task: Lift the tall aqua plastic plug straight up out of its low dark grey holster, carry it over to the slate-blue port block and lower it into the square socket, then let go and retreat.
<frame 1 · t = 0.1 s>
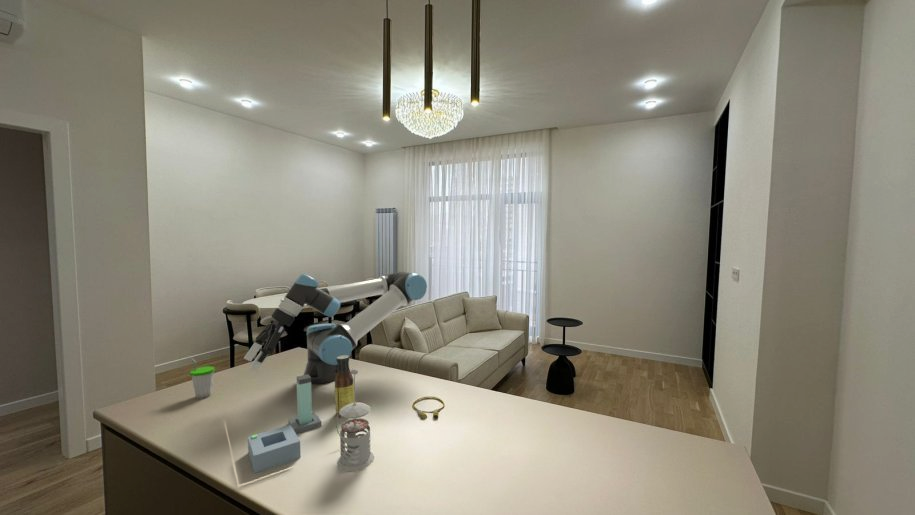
hand: (249, 364, 128), 15 cm above the table, tool tilted 35°, fingers open, 13 cm apart
french press: (353, 459, 98), on the table
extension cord: (427, 409, 127), on the table
port: (274, 456, 99), on the table
holster: (304, 426, 115), on the table
plug: (304, 424, 115), resting on holster
sauce bottle: (345, 415, 123), on the table
cup: (203, 396, 138), on the table
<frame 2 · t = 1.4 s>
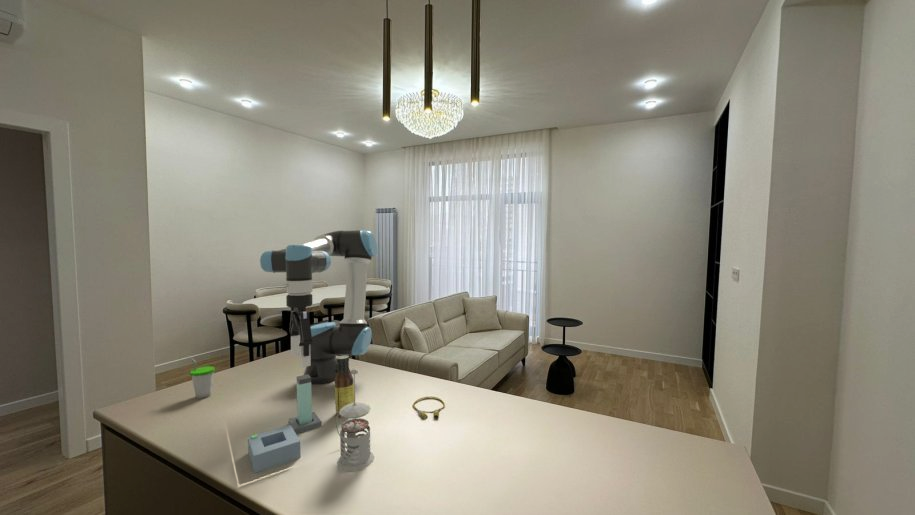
hand: (300, 360, 114), 21 cm above the table, tool pointing down, fingers open, 13 cm apart
nothing on the table moved.
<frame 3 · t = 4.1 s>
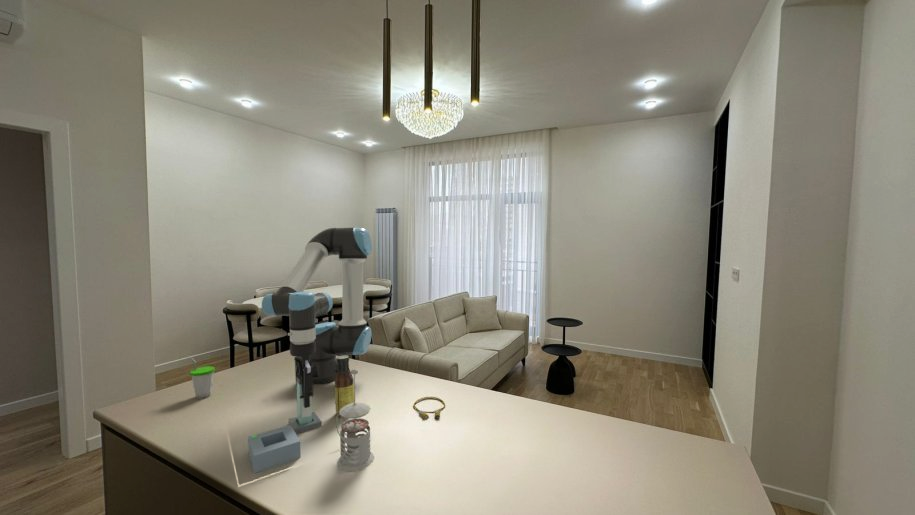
hand: (304, 413, 115), 4 cm above the table, tool pointing down, fingers closed on plug, 3 cm apart
plug: (304, 424, 115), resting on holster, touching gripper
everything else where it was.
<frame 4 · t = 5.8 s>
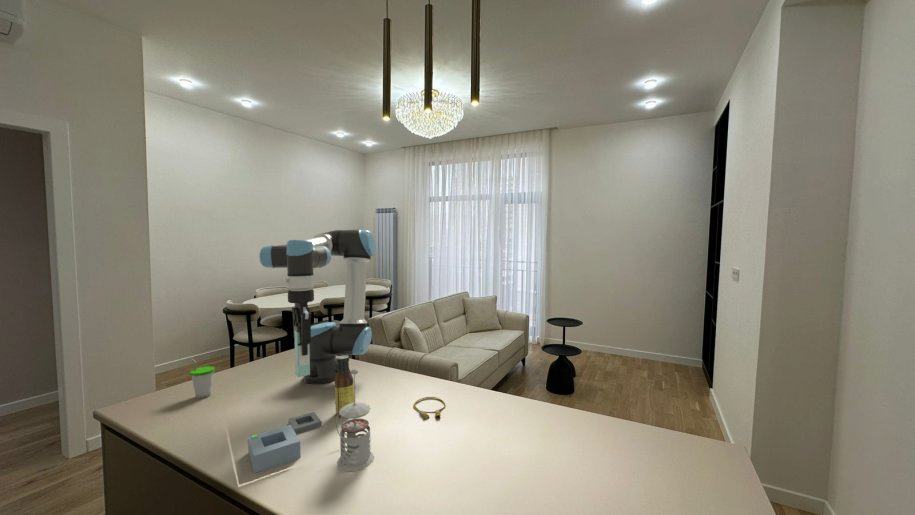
hand: (302, 363, 113), 21 cm above the table, tool pointing down, fingers closed on plug, 3 cm apart
plug: (302, 374, 114), point 17 cm above the table, touching gripper
everything else where it was.
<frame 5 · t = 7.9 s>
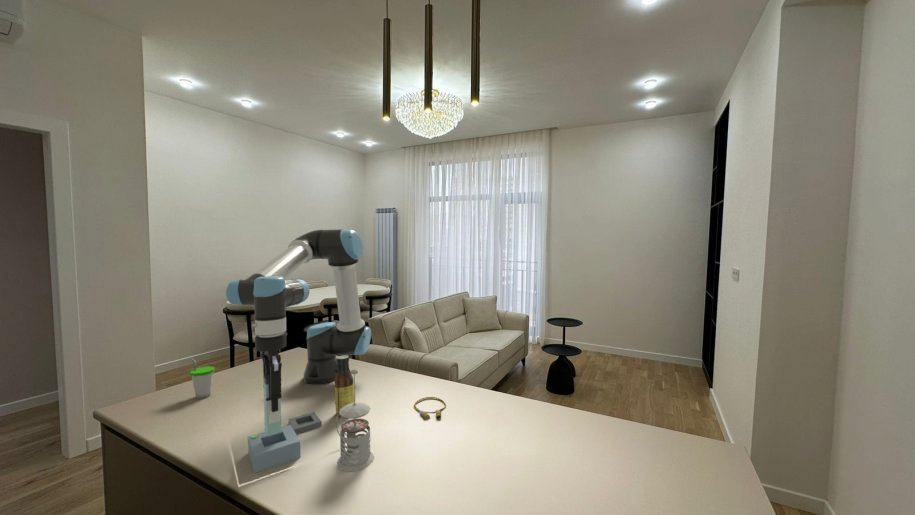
hand: (272, 418, 98), 11 cm above the table, tool pointing down, fingers closed on plug, 3 cm apart
plug: (273, 431, 98), point 7 cm above the table, touching gripper
everything else where it was.
when the fingers open (6 cm above the table, at t = 9.5 s): plug drops 2 cm, resting on port.
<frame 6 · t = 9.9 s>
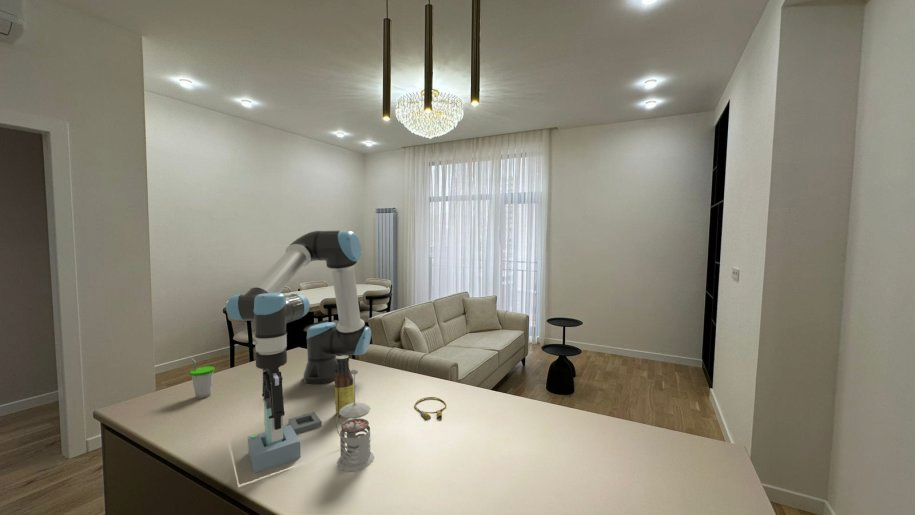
hand: (273, 431, 98), 7 cm above the table, tool pointing down, fingers open, 9 cm apart
plug: (274, 454, 99), resting on port
everything else where it was.
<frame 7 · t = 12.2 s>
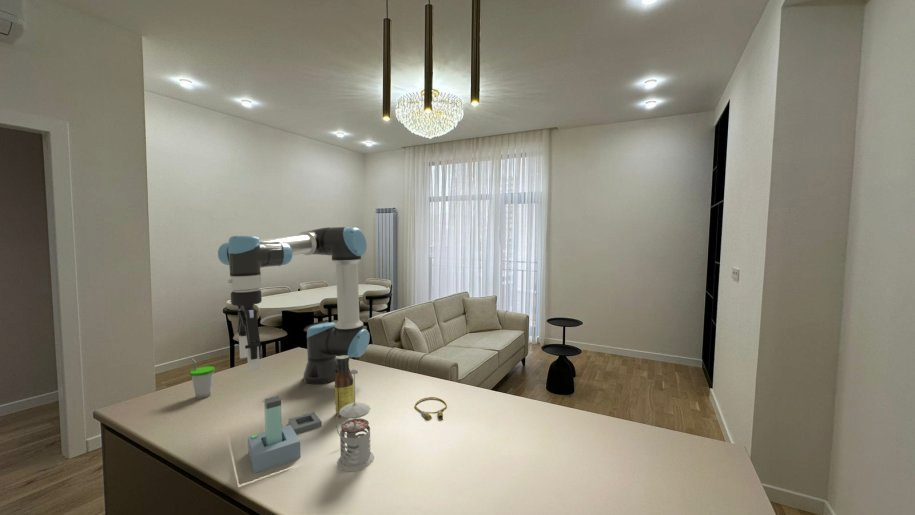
hand: (249, 363, 104), 24 cm above the table, tool pointing down, fingers open, 13 cm apart
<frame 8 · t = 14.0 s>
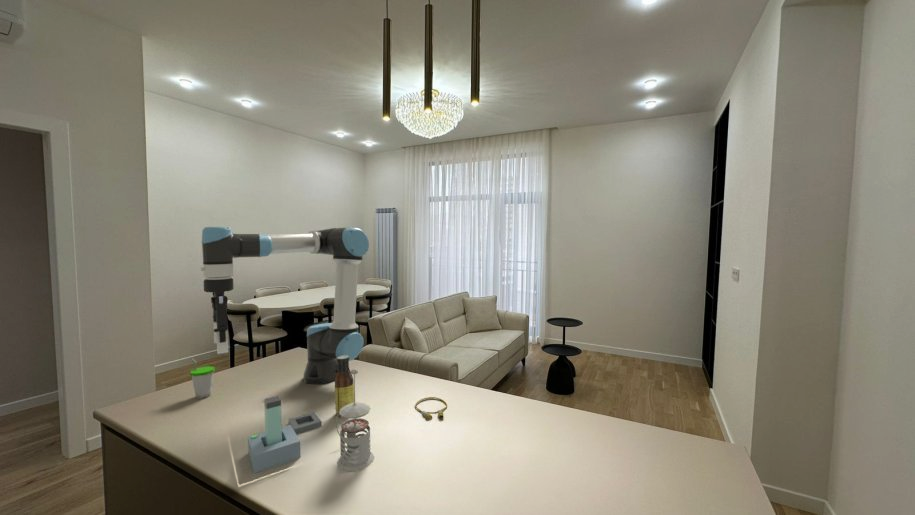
hand: (220, 347, 110), 27 cm above the table, tool pointing down, fingers open, 13 cm apart
at the end: plug 0.0 cm off-centre on the port, point 0.5 cm above the port's base; plug tilted 0°; the gripper is holding nothing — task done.
